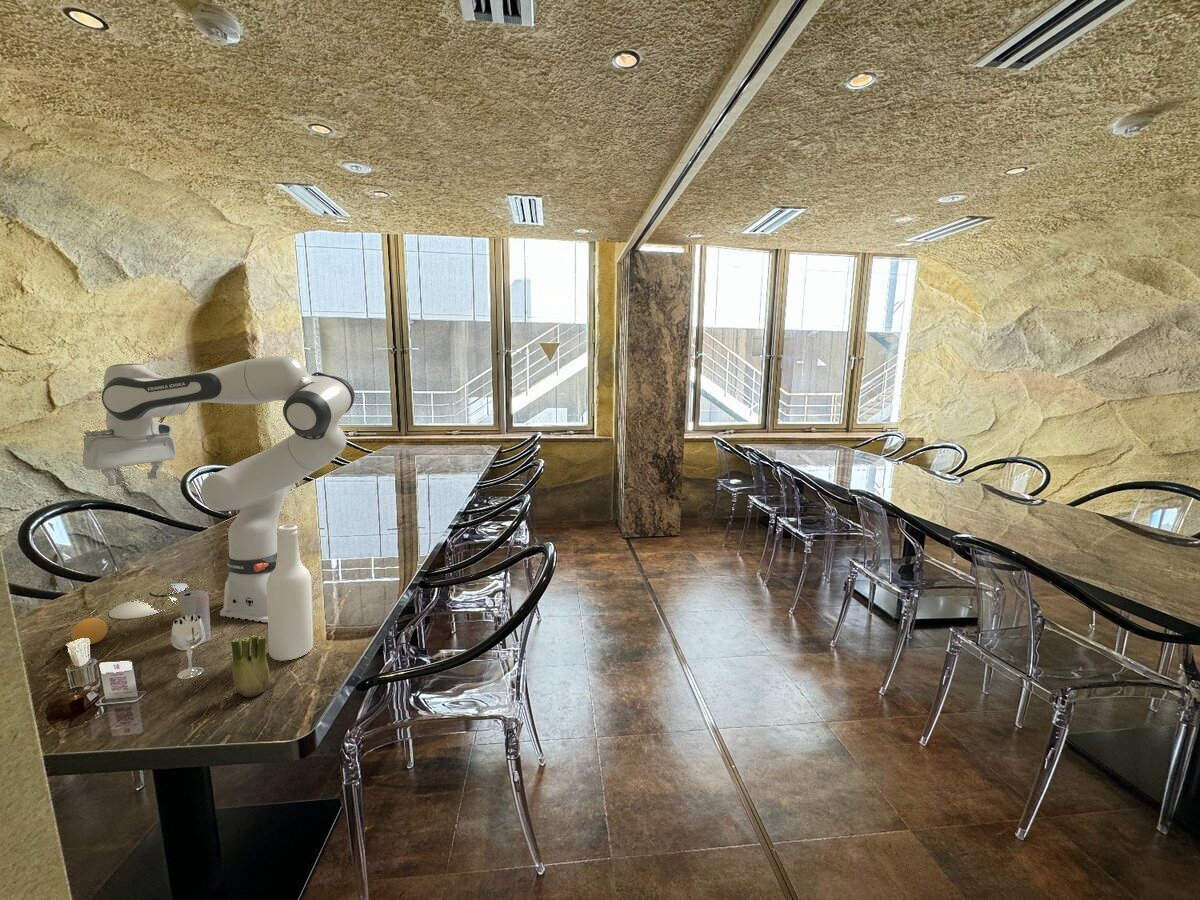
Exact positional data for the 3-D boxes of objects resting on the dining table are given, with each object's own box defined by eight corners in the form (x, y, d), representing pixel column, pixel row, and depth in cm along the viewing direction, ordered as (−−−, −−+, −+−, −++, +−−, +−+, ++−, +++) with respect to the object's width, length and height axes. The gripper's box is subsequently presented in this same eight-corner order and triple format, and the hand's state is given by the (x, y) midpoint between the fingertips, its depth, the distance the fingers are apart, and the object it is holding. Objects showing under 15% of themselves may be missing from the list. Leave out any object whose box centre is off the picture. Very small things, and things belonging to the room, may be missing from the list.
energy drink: (187, 637, 127) (184, 589, 125) (214, 634, 129) (211, 587, 127) (178, 648, 122) (175, 598, 120) (206, 644, 124) (203, 596, 122)
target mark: (189, 602, 145) (189, 602, 145) (128, 623, 132) (128, 622, 132) (158, 593, 150) (158, 592, 150) (96, 612, 137) (96, 611, 137)
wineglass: (213, 666, 115) (211, 613, 114) (194, 681, 110) (191, 626, 108) (186, 665, 115) (183, 613, 113) (166, 680, 109) (162, 625, 108)
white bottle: (264, 651, 122) (259, 525, 118) (306, 639, 128) (303, 519, 124) (275, 667, 116) (269, 534, 112) (318, 653, 122) (315, 527, 118)
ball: (114, 641, 124) (112, 616, 123) (81, 652, 118) (79, 627, 117) (99, 635, 126) (97, 611, 125) (66, 646, 120) (64, 621, 120)
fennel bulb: (230, 697, 105) (227, 640, 103) (250, 683, 109) (247, 629, 108) (256, 701, 104) (253, 644, 102) (275, 687, 109) (272, 632, 107)
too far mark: (196, 587, 155) (196, 586, 155) (162, 598, 147) (162, 597, 147) (177, 581, 159) (177, 581, 159) (142, 592, 150) (142, 591, 150)
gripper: (94, 432, 123) (98, 490, 125) (179, 426, 143) (182, 476, 145) (72, 431, 124) (77, 488, 126) (160, 424, 144) (163, 474, 146)
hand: (134, 482), depth 136 cm, fingers open, 8 cm apart
